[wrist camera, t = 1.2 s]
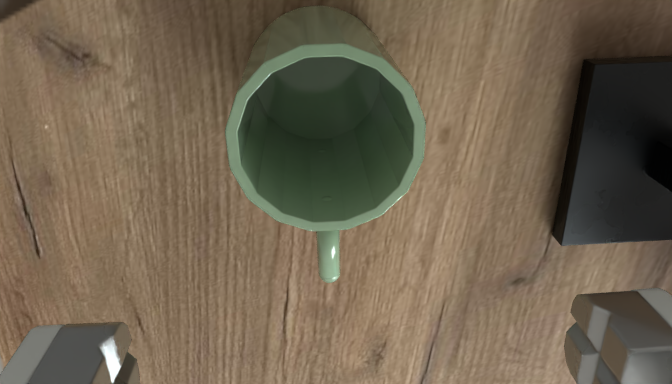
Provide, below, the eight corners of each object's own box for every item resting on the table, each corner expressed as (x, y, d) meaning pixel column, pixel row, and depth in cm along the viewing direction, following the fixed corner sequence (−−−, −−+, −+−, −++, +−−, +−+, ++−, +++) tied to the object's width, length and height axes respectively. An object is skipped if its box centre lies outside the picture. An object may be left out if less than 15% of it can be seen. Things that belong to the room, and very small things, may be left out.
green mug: (242, 7, 24) (214, 48, 16) (387, 2, 25) (430, 40, 17) (260, 204, 29) (246, 312, 21) (383, 198, 29) (416, 303, 21)
